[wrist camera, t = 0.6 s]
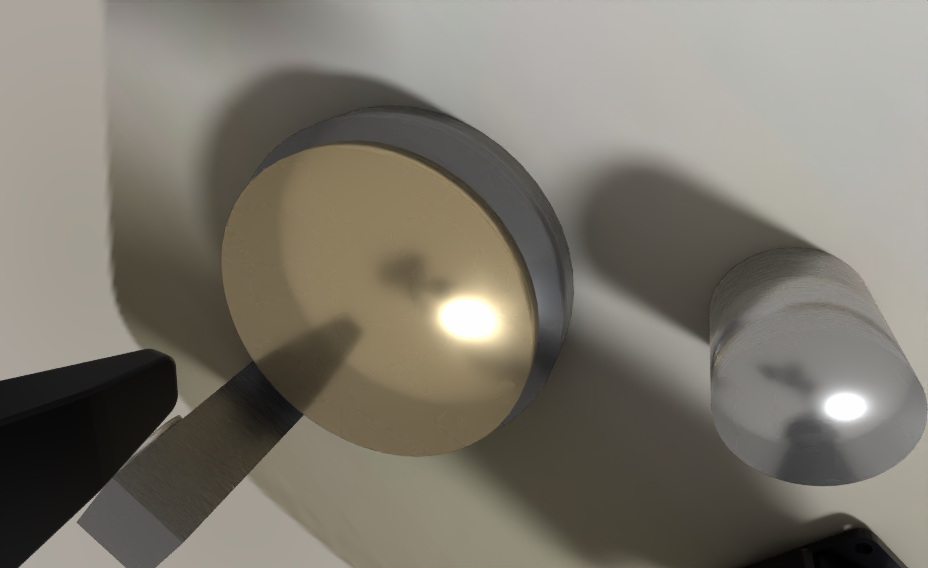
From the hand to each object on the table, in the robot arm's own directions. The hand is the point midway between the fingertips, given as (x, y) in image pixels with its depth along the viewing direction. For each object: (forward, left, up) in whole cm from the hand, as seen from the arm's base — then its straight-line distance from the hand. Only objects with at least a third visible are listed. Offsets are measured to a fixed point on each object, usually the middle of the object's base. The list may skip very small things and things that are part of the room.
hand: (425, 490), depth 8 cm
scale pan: (+2, +6, -10) cm, 12 cm away
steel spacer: (-7, -3, -13) cm, 14 cm away
